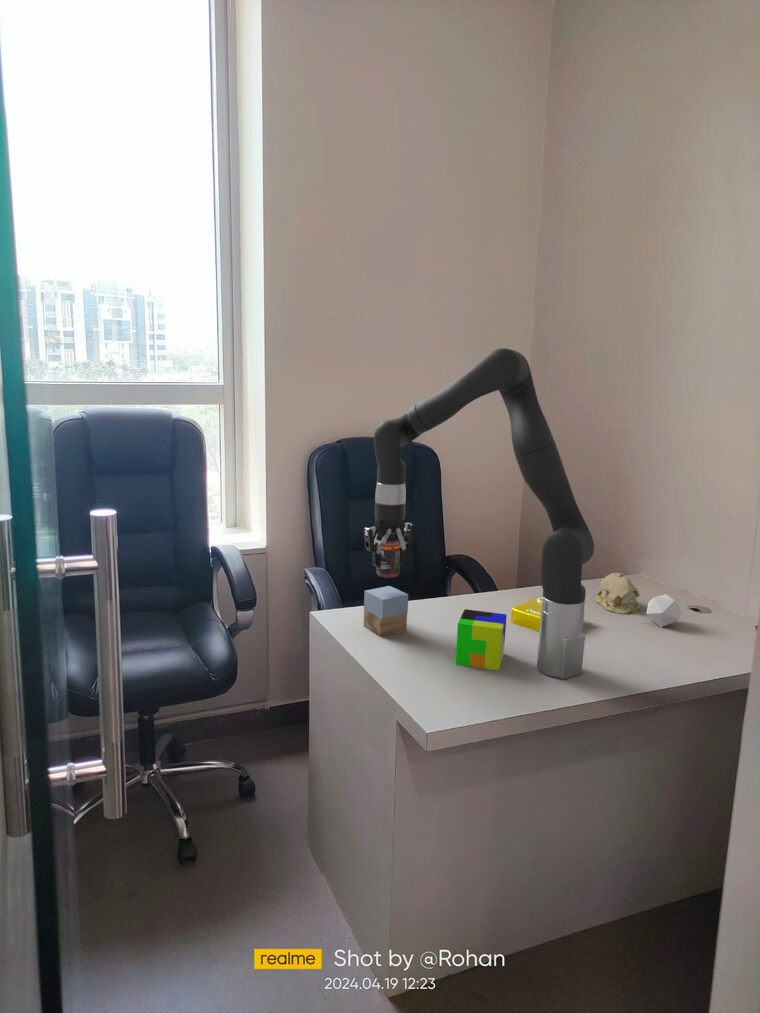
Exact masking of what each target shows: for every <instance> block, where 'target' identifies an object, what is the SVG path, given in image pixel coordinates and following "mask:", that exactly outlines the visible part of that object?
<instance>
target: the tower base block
mask: <svg viewBox="0 0 760 1013" xmlns="http://www.w3.org/2000/svg"><path fill="white" fill-rule="evenodd" d="M407 622H408V613H406V614H402V615H397V616H393V617H389V618H384V619H381V618H379V617H378V616H376V615H374V614H372V613H370V612H368V611H366V610H364V609H363V627H364V628H365V629H367V630H369V631H370V632H371V633H373V634H374V635H376V636H378V637H379V638H381V637H386V636H391V635H395V634H400V633H405V632H407V626H408V625H407Z"/></svg>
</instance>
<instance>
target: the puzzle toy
mask: <svg viewBox="0 0 760 1013" xmlns="http://www.w3.org/2000/svg"><path fill="white" fill-rule="evenodd" d="M506 628H507V613H498V612H491V611H482V610H473V609H468V608H467V609H466V608H465V609H464V610H463V612H462V614H461V616H460V618H459V621H458V622H457V631H456V647H455V649H456V650H455V665H458V666H464V667H473V668H479V669H487V670H494V671H500V668H501V665H502V660H503V657H504V655H505V645H506V644H505V641H506V631H507V630H506Z"/></svg>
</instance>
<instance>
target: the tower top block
mask: <svg viewBox="0 0 760 1013" xmlns="http://www.w3.org/2000/svg"><path fill="white" fill-rule="evenodd" d="M363 599H364V600H363V611H364V610H366V611H368V612H370V613H372V614H374V615H376V616H378V617H379V618H381V619H384V618H389V617H393V616H397V615H402V614H406V613H407V614H408V611H409V610H408V609H409V593H406V592H404V591H401V590H400V589H398V588H396V587H393V586H391V585H386V586H381V587H378V588H377V587H376V588H372V589H367V590H364V597H363Z"/></svg>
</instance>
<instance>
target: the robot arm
mask: <svg viewBox="0 0 760 1013" xmlns="http://www.w3.org/2000/svg"><path fill="white" fill-rule="evenodd" d="M533 379H534V378H533V375H532V370H531V367H530V365H529V362H528V360H527V358H526V357H525V356H524V355H523V354H522V353H520V352H519V351H517V350H514V349H511V348H506V347H505V348H504V347H503V348H501V347H500V348H497V349H495V350H492V351H491V352H489V353H488V355H486V356H484V357H483V358H482V359H481V360H480V361H478V363H476V364H475V365H474V366H473V367H472V368H470V369H469V370H467V371H466V372H465V373H464V374H463V375H461V376H460V377H458V378H457V379H454V381H452V382H450V383H448V384H447V385H446V386H444V387H442V388H441V389H439V390H438V391H436V392H434V393H431V395H429V396H427V397H425V398H424V399H422V400H420V401H418V402H417V403H415V404H413V405H412V406H410V408H409V409H408V410H407V411H406V412H405V413H403V414H401V415H400V416H398V417H395V418H394V419H393V418H392V419H389V420H383V421H381V422H380V423H379V424H377V426H376V427H375V429H374V433H373V448H374V453H375V459H376V464H377V468H376V472H377V473H376V487H375V496H374V500H375V501H374V502H375V503H374V520H375V523H374V525H373V526H371V527H367V526H365V527H364V528H363V537H364V548H365V550H367V551H369V552H371V553H372V558H371V560H372V561H371V564H372V565H373V566H374V567H375V568H380V567H381V554H380V552H381V550H382V546H384V545H385V544H386V541H387V539H388V537H389V535H390V533H393V532H395V533H396V535H397V537H396V538H397V539H398V540H399V542H400V566H402V565H403V564H404V561H405V553H406V552H405V551H406V549H407V548H411V547H412V545H413V541H414V534H415V527H416V525H415V524H414V523H411V522H405V519H406V501H407V500H406V499H407V496H406V495H407V489H406V474H407V473H406V471H407V467H406V466H407V465H406V463H405V461H404V460H403V459H402V456H401V455H402V454H401V447H404V446H406V445H408V444H409V443H412V442H413V441H414V440H416V439H417V438H418V437H420V436H422V434H424V433H426V432H429V431H430V430H432V429H435V428H436V427H437V426H438V427H439V425H441V424H443V423H445V422H447V421H448V420H449V419H451V418H452V417H454V416H455V415H457V414H458V413H459V412H460V411H461V410H462V409H463V408H465V407H466V406H467V405H468V404H471V403H472V402H473V401H476V400H477V399H479V398H481V397H483V396H486V395H488V394H491V393H494V392H497V391H498V392H499V393H500V396H501V398H502V400H503V402H504V405H505V407H506V410H507V413H508V415H509V416H508V417H509V421H510V422H509V423H510V430H511V431H510V432H511V433H510V434H511V442H512V447H513V451H514V455H515V456H514V457H515V459H516V462H517V465H518V468H519V470H520V474H521V476H522V478H523V479H524V480H523V481H524V482H525V483H526V485H527V486H528V487H529V489H530V490H531V492H532V493H533V495H535V497H536V498H537V499H538V501H539V502H540V503H541V504H542V507H543V508H544V510H545V512H546V514H547V517H548V520H549V523H550V526H551V529H552V532H551V533H549V534H548V535H547V537H546V538H545V539H544V541H543V545H542V551H541V562H540V563H541V564H540V584H541V587H542V597H543V598H542V610H541V622H540V632H539V636H538V637H539V638H538V647H537V650H538V651H537V658H536V659H537V664H536V668H537V669H538V671H539V672H540V673H543V674H544V675H547V676H550V677H553V678H559V679H561V680H564V679H569V678H572V677H573V678H574V677H576V676H580V675H582V674H583V673H582V672H583V665H584V664H583V662H584V653H585V652H584V650H585V642H586V635H585V634H584V633H583V625H584V621H583V615H584V616H585V603H586V594H587V593H586V587H585V586H584V585H583V584H582V577H583V576H582V572H583V565H585V564H586V563H588V562H589V561H590V560H591V558H592V557H593V555H594V551H595V542H594V538H593V536H592V532H591V531H590V528H589V527H588V525H587V522H586V521H585V518H584V517H583V514H582V512H581V510H580V508H579V506H578V504H577V502H576V500H575V496H574V493H573V490H572V488H571V485H570V481H569V478H568V476H567V473H566V470H565V468H564V464H563V460H562V457H561V455H560V453H559V449H558V446H557V444H556V441H555V438H554V437H553V434H552V430H551V429H550V427H549V426H550V425H549V424H548V422H547V419H546V417H545V415H544V412H543V409H542V407H541V406H540V402H539V400H538V396H537V392H536V388H535V384H534V380H533ZM403 531H404V532H403ZM402 533H403V534H402ZM375 534H376V535H375ZM374 536H375V537H374ZM380 539H382V540H381V541H379V540H380Z"/></svg>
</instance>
